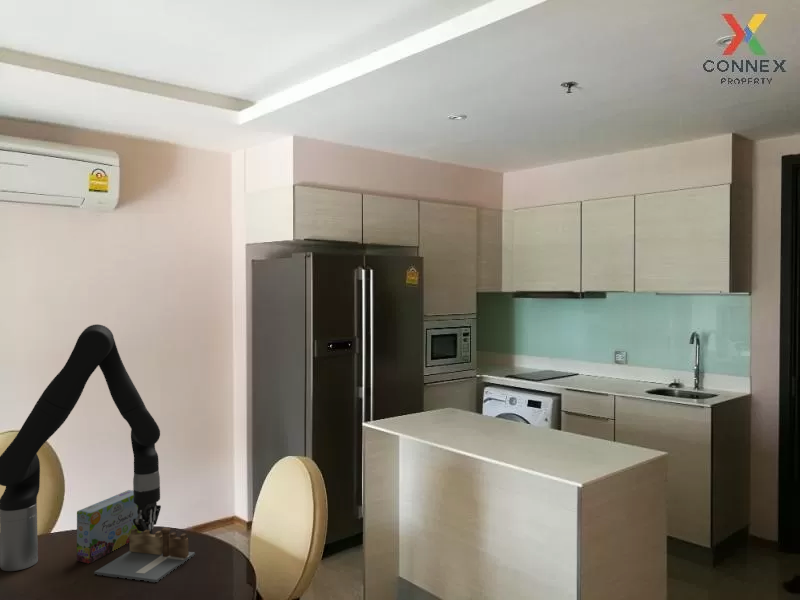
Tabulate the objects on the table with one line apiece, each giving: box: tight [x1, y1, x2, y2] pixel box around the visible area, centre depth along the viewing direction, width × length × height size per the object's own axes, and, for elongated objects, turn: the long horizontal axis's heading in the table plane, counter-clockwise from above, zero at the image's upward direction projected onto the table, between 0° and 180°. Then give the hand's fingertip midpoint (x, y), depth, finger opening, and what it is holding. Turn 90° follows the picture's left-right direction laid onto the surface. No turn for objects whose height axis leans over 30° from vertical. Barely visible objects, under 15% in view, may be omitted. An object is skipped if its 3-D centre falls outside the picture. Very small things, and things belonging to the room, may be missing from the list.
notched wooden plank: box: [160, 527, 190, 558], centre depth 183 cm, size 8×3×9 cm, turn 75°
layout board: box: [94, 550, 196, 583], centre depth 180 cm, size 20×18×1 cm
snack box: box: [76, 489, 142, 564], centre depth 191 cm, size 21×6×15 cm, turn 162°
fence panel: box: [128, 528, 163, 555], centre depth 185 cm, size 11×2×6 cm, turn 76°
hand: (147, 542), depth 191 cm, fingers closed
